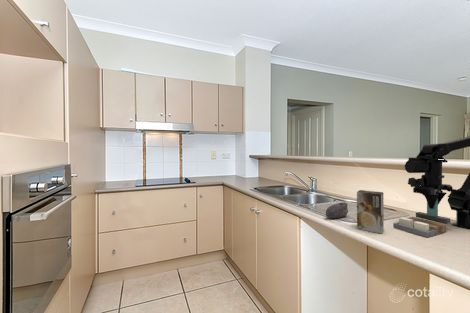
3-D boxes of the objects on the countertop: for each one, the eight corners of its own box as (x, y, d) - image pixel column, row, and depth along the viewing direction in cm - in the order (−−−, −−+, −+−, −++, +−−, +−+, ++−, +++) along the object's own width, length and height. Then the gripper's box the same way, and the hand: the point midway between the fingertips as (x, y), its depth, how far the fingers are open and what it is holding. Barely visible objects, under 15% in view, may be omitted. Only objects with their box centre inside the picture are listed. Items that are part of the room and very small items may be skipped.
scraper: (419, 216, 101) (419, 194, 101) (450, 223, 91) (450, 199, 91) (415, 217, 100) (415, 195, 100) (446, 224, 90) (446, 200, 90)
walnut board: (412, 223, 100) (412, 216, 100) (446, 232, 89) (446, 224, 89) (402, 225, 97) (402, 219, 96) (435, 235, 86) (435, 227, 86)
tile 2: (417, 221, 89) (413, 222, 88) (429, 224, 85) (425, 225, 84) (417, 230, 89) (413, 231, 88) (429, 234, 86) (425, 235, 84)
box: (401, 225, 96) (401, 221, 96) (435, 235, 85) (435, 230, 85) (393, 227, 94) (393, 223, 94) (426, 237, 83) (426, 232, 83)
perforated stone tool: (330, 221, 104) (330, 206, 104) (321, 218, 109) (321, 204, 108) (351, 217, 110) (351, 203, 110) (342, 214, 115) (342, 201, 115)
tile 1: (402, 217, 95) (399, 217, 94) (413, 219, 91) (409, 220, 90) (402, 226, 95) (399, 227, 94) (413, 229, 91) (409, 230, 90)
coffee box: (384, 229, 92) (384, 192, 91) (381, 234, 87) (381, 194, 87) (359, 225, 98) (360, 189, 98) (356, 228, 93) (356, 191, 93)
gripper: (423, 170, 106) (422, 202, 106) (399, 172, 99) (399, 206, 99) (453, 172, 96) (452, 207, 96) (429, 174, 88) (429, 212, 89)
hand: (432, 208), depth 95 cm, fingers closed on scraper, 2 cm apart
